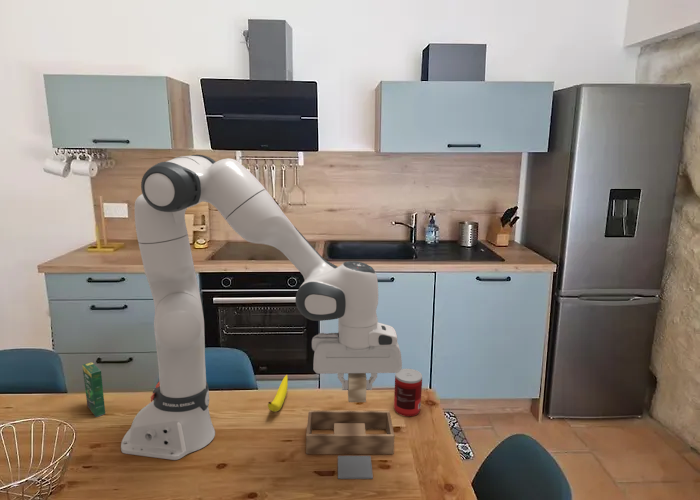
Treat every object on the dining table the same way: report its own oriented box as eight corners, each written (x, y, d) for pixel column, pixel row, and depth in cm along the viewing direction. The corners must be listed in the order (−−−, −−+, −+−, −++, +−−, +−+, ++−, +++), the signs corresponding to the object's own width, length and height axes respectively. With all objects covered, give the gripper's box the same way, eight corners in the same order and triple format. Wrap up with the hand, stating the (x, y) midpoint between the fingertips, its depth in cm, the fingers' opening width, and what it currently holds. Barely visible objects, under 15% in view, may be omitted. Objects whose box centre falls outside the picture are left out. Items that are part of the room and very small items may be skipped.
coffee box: (86, 406, 143) (81, 363, 140) (96, 402, 145) (92, 360, 142) (94, 417, 137) (90, 373, 134) (106, 414, 139) (101, 370, 136)
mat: (337, 478, 114) (337, 477, 114) (337, 457, 122) (337, 455, 122) (372, 478, 115) (372, 477, 115) (370, 457, 122) (370, 455, 122)
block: (348, 402, 114) (348, 378, 113) (347, 393, 118) (348, 370, 117) (366, 402, 115) (366, 378, 113) (364, 393, 119) (365, 370, 117)
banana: (291, 389, 154) (291, 370, 153) (275, 424, 136) (275, 402, 134) (282, 389, 155) (282, 370, 153) (264, 423, 136) (264, 401, 135)
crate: (306, 454, 123) (306, 435, 122) (308, 427, 134) (308, 410, 133) (393, 454, 124) (394, 436, 123) (388, 427, 135) (389, 410, 134)
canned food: (413, 400, 149) (414, 366, 147) (425, 414, 142) (427, 379, 139) (389, 404, 147) (390, 370, 144) (400, 419, 139) (402, 382, 137)
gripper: (311, 338, 109) (311, 396, 112) (404, 338, 110) (402, 395, 113) (312, 327, 115) (312, 382, 119) (400, 327, 116) (398, 381, 119)
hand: (357, 388), depth 116 cm, fingers closed on block, 4 cm apart
